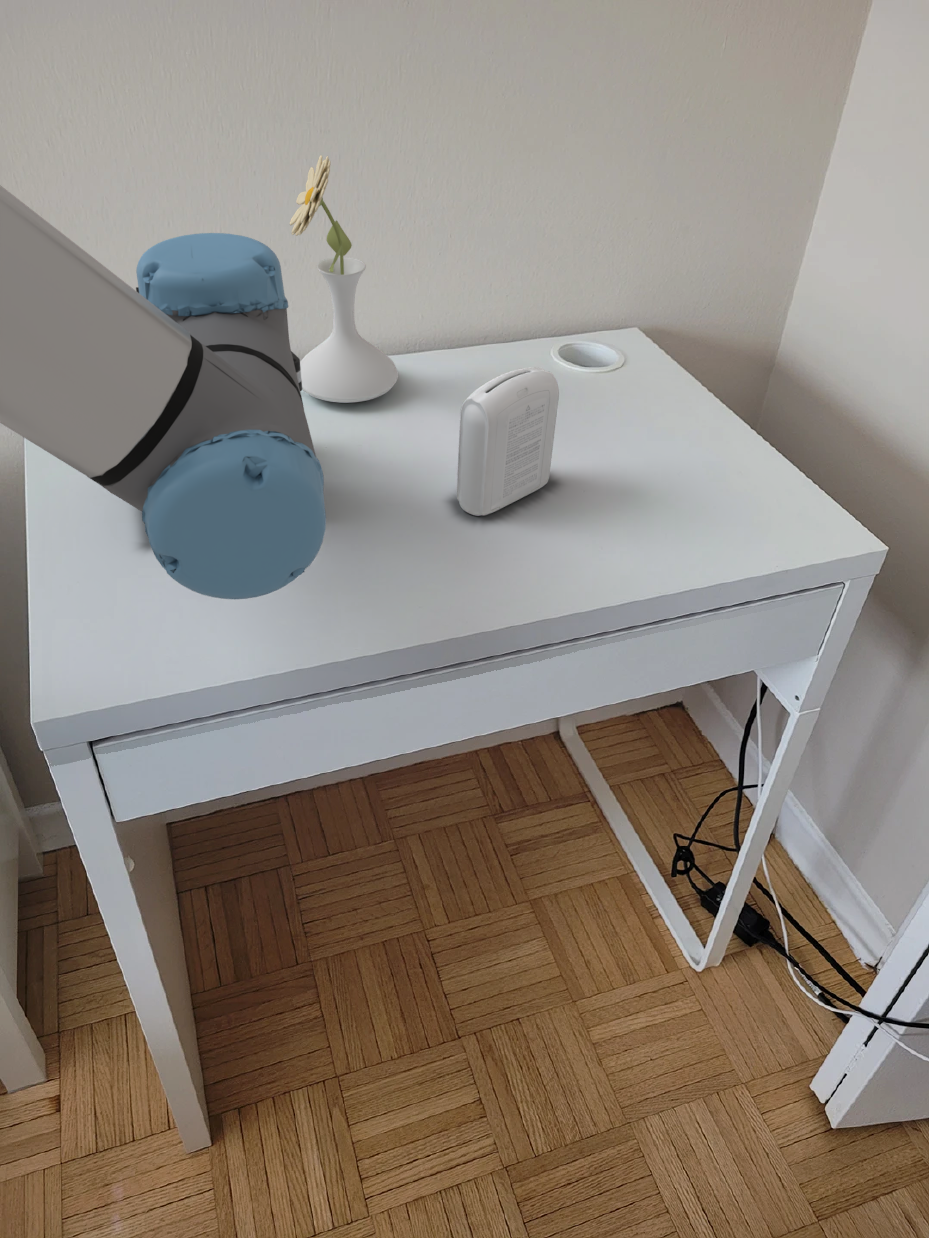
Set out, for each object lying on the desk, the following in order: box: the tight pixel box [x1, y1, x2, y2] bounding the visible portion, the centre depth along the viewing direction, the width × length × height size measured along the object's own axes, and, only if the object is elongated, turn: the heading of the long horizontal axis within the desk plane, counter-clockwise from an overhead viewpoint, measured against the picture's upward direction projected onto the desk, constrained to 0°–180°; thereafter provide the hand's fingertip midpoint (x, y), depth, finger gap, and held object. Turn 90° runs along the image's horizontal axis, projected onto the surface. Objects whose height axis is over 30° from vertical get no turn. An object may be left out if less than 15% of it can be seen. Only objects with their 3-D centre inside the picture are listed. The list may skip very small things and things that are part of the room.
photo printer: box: [456, 366, 560, 517], centre depth 87 cm, size 10×4×12 cm, turn 134°
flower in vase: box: [289, 154, 399, 404], centre depth 98 cm, size 13×11×25 cm
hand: (188, 298), depth 82 cm, fingers open, 7 cm apart
